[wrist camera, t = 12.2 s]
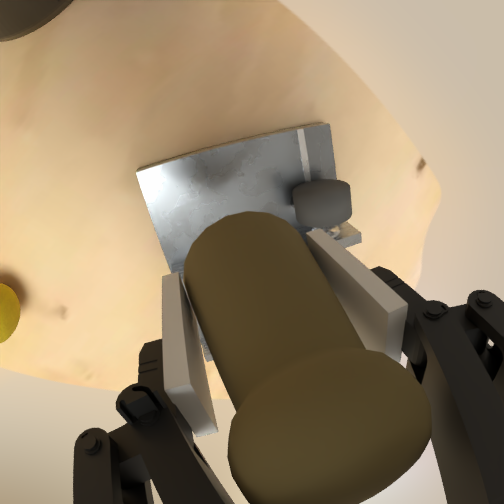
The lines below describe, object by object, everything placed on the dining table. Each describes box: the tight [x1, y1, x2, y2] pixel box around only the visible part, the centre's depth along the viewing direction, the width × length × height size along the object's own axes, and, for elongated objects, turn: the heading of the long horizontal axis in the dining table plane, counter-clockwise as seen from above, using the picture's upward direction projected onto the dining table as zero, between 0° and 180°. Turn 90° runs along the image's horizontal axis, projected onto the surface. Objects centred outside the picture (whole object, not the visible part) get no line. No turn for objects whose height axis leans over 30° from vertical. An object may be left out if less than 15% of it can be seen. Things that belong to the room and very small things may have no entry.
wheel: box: [292, 179, 352, 228], centre depth 27 cm, size 3×5×5 cm, turn 102°
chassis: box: [136, 122, 361, 362], centre depth 29 cm, size 20×18×6 cm
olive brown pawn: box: [183, 211, 432, 504], centre depth 10 cm, size 6×6×11 cm
